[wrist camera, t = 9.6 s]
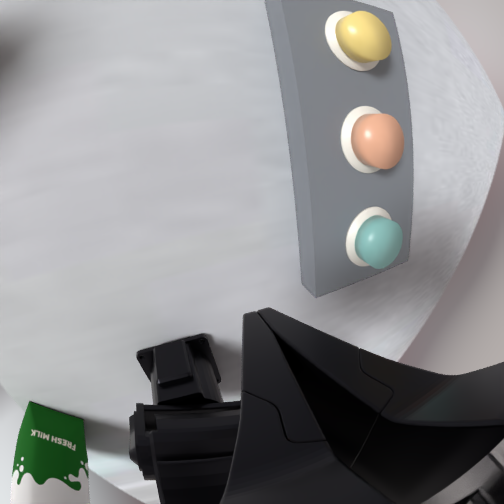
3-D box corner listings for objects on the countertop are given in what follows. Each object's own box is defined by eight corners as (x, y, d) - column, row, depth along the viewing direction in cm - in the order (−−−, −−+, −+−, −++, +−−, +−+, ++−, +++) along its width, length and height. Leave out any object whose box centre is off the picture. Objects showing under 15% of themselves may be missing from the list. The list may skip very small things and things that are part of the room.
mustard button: (381, 65, 16) (395, 63, 15) (340, 60, 15) (354, 56, 14) (372, 21, 14) (385, 17, 13) (330, 12, 13) (343, 5, 12)
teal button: (388, 253, 23) (400, 260, 22) (354, 266, 22) (365, 275, 21) (390, 210, 21) (404, 216, 20) (354, 220, 20) (367, 227, 19)
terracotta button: (390, 163, 19) (405, 166, 18) (352, 168, 19) (367, 171, 17) (387, 114, 18) (402, 114, 16) (348, 113, 17) (362, 113, 15)
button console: (391, 251, 27) (409, 261, 25) (301, 283, 25) (316, 299, 22) (374, 18, 17) (394, 12, 14) (264, 0, 14) (279, -14, 12)
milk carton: (91, 417, 23) (104, 580, 6) (86, 448, 25) (99, 577, 8) (21, 393, 19) (4, 552, 2) (27, 430, 21) (22, 557, 4)
